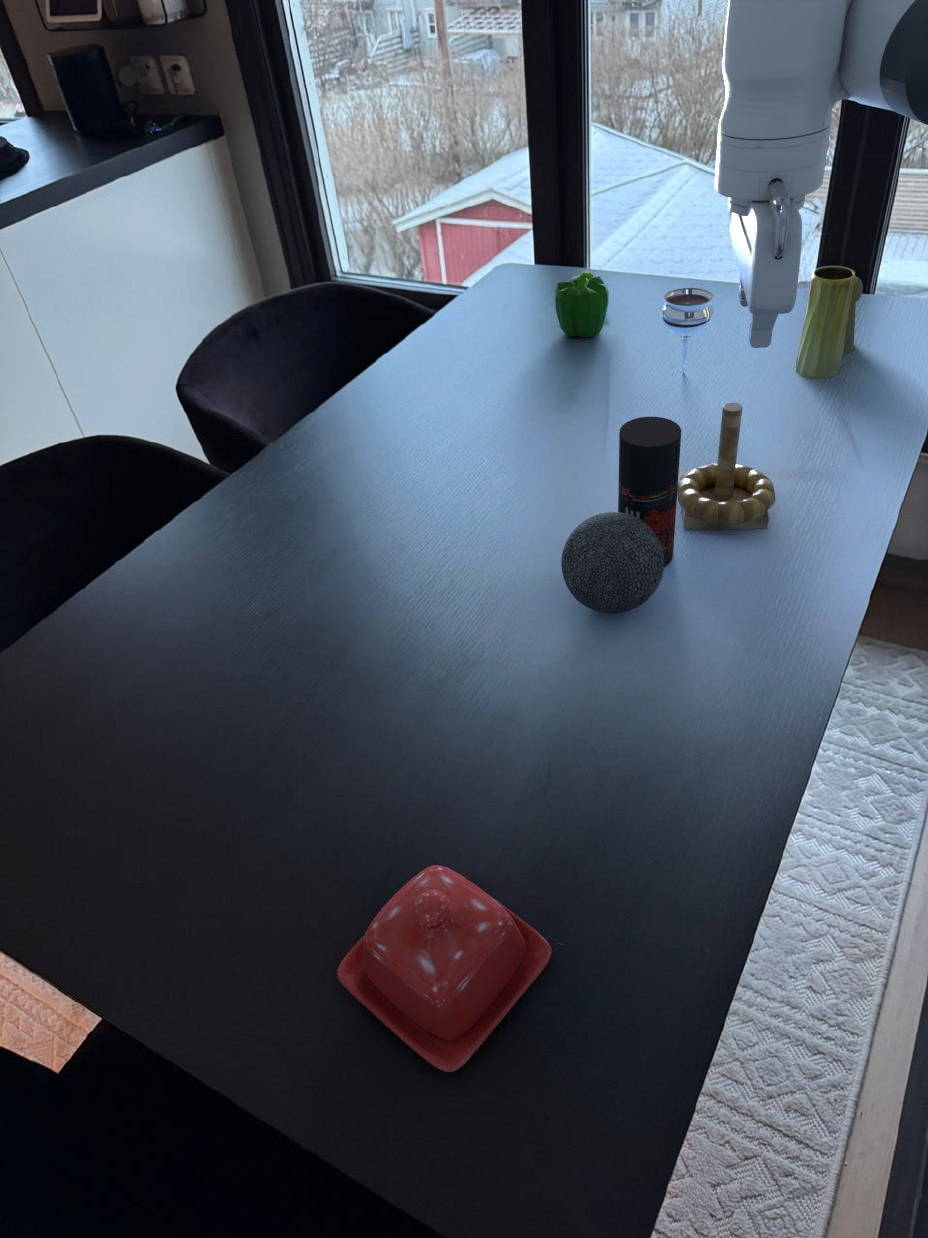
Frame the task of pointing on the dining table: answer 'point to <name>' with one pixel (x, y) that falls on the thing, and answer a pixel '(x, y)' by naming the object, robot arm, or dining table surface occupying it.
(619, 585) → the decorative ball
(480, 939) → the butter dish
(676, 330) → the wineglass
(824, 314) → the vase
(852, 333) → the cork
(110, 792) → the dining table surface
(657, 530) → the deodorant
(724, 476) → the post
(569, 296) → the bell pepper
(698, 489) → the ring
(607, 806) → the dining table surface
